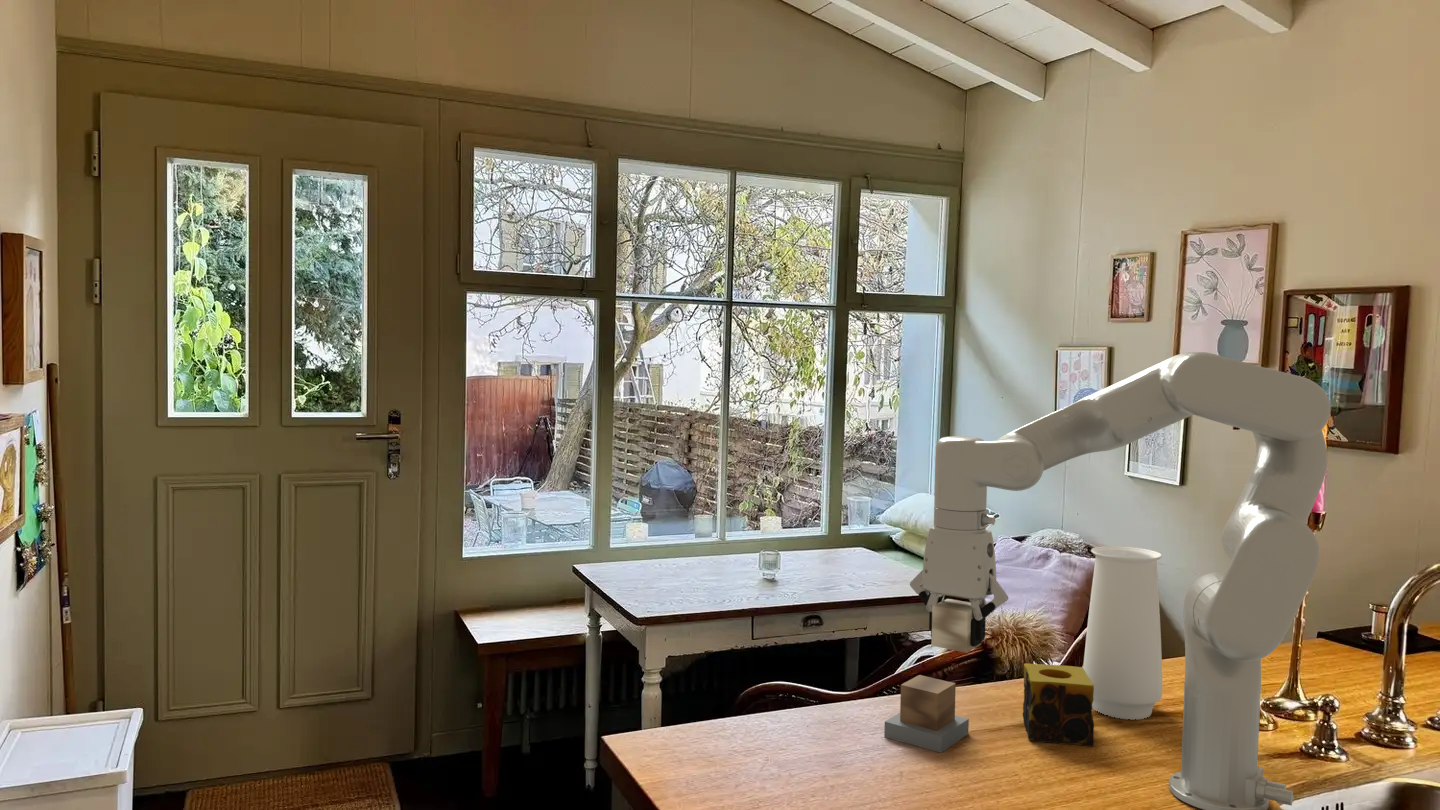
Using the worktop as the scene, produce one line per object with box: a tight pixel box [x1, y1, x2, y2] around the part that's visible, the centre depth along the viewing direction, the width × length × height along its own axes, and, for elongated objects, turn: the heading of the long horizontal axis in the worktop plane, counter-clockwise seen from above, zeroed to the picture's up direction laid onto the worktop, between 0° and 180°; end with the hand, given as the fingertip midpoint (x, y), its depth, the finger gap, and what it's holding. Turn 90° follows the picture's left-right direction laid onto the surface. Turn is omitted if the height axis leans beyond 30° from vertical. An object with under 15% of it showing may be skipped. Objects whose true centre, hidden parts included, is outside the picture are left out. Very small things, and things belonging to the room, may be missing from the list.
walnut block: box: [899, 674, 957, 731], centre depth 159 cm, size 6×6×6 cm
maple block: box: [930, 598, 982, 654], centre depth 146 cm, size 6×6×6 cm
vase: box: [1082, 545, 1163, 721], centre depth 172 cm, size 13×13×28 cm
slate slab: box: [883, 712, 970, 754], centre depth 159 cm, size 10×10×2 cm
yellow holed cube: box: [1022, 662, 1095, 747], centre depth 161 cm, size 10×10×10 cm
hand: (956, 639), depth 146 cm, fingers closed on maple block, 5 cm apart
